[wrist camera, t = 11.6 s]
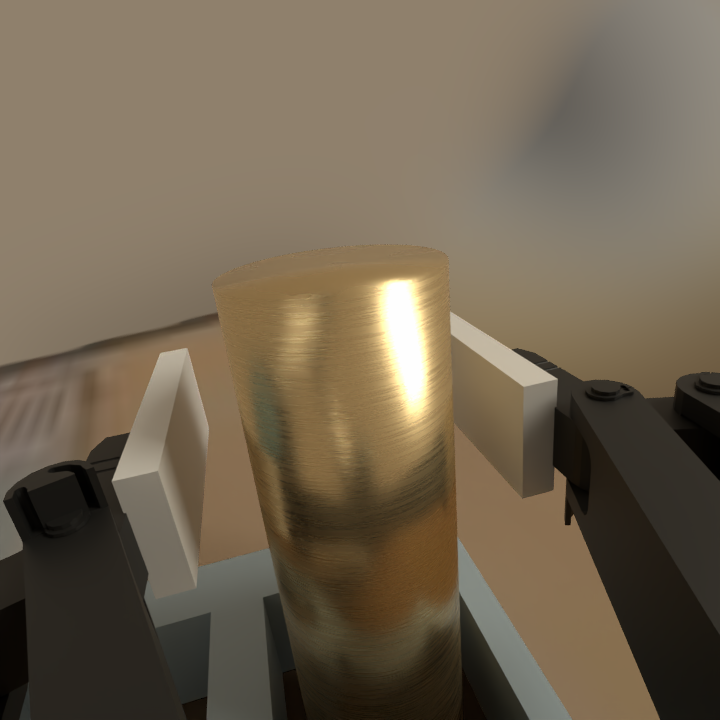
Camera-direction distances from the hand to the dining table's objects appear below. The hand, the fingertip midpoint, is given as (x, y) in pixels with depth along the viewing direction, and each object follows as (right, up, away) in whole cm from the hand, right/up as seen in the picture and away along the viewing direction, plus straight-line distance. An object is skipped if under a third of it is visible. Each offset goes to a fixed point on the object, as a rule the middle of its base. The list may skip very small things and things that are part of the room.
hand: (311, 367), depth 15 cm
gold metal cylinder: (+2, -11, -1) cm, 11 cm away
